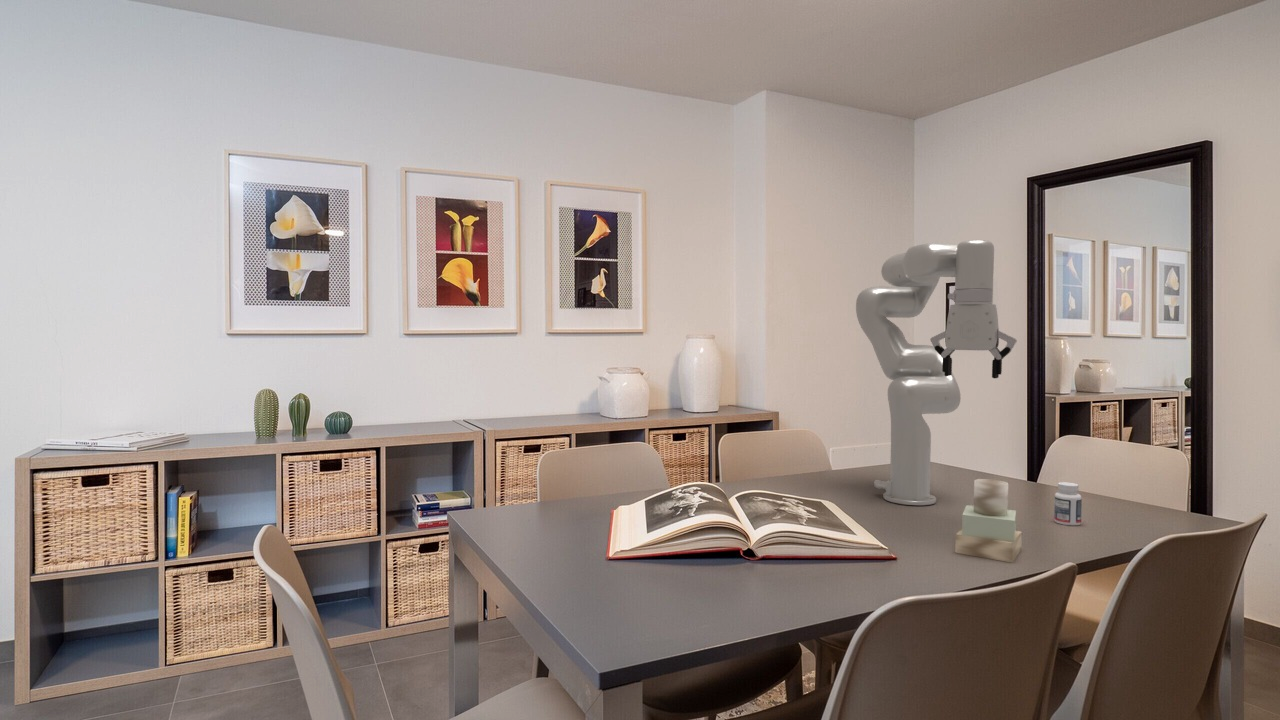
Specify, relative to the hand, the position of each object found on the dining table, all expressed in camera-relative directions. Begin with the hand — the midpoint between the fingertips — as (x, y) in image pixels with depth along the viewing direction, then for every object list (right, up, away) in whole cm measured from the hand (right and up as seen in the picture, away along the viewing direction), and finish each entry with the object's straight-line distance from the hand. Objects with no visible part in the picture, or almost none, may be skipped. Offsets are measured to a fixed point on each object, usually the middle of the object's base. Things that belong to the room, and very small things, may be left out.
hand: (971, 376), depth 159 cm
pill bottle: (+24, -33, +6) cm, 42 cm away
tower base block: (-4, -34, -16) cm, 38 cm away
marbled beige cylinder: (-4, -26, -16) cm, 31 cm away
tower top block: (-4, -30, -16) cm, 35 cm away
